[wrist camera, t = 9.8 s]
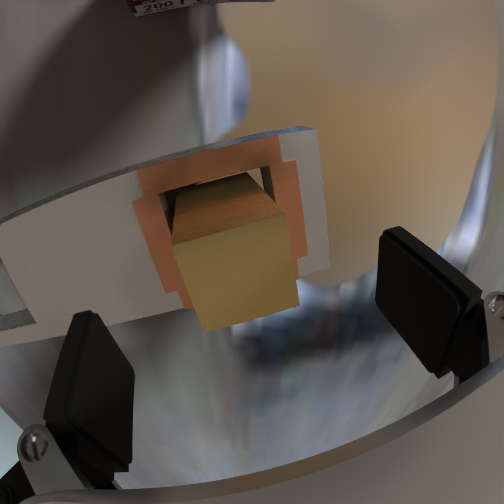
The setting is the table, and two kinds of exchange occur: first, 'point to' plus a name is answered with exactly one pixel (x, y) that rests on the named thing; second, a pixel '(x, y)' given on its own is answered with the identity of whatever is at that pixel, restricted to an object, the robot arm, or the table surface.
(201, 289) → the yellow rectangular block
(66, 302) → the grey board
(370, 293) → the table surface
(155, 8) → the supplement box
